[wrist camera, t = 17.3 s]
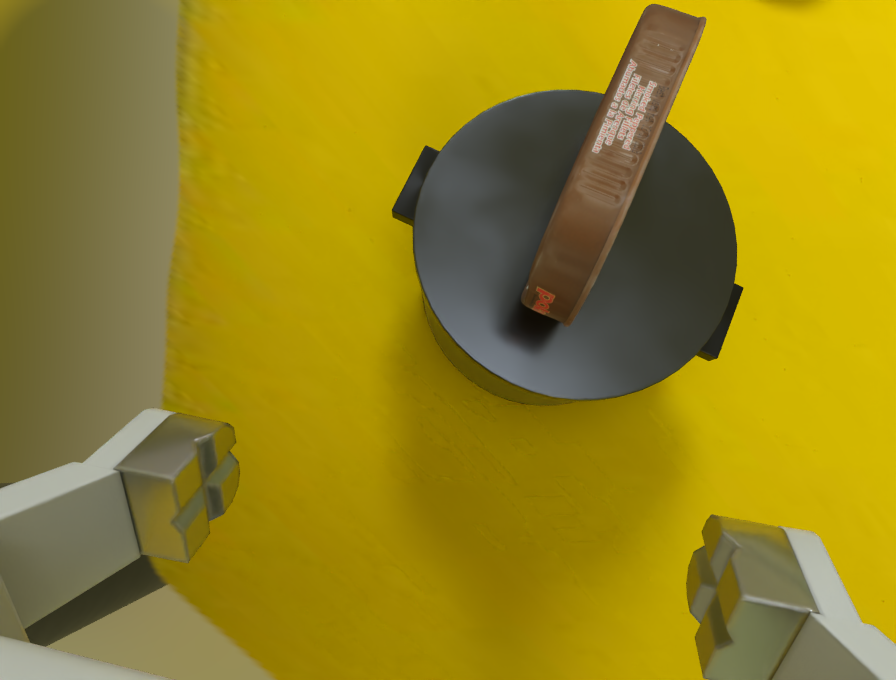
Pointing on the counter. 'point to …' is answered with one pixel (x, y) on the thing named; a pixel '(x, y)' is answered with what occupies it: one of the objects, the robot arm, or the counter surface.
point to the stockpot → (517, 241)
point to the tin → (611, 162)
